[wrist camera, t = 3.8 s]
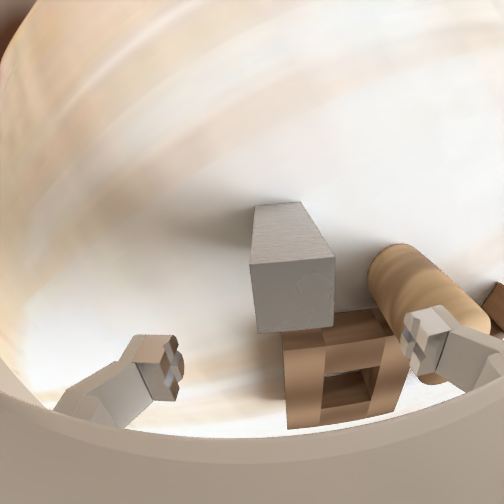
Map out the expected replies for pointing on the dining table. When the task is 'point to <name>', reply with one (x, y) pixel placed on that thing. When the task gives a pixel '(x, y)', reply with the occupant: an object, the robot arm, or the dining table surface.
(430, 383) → the oak dowel
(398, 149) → the dining table surface
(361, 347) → the socket block
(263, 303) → the brushed metal bar
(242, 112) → the dining table surface
